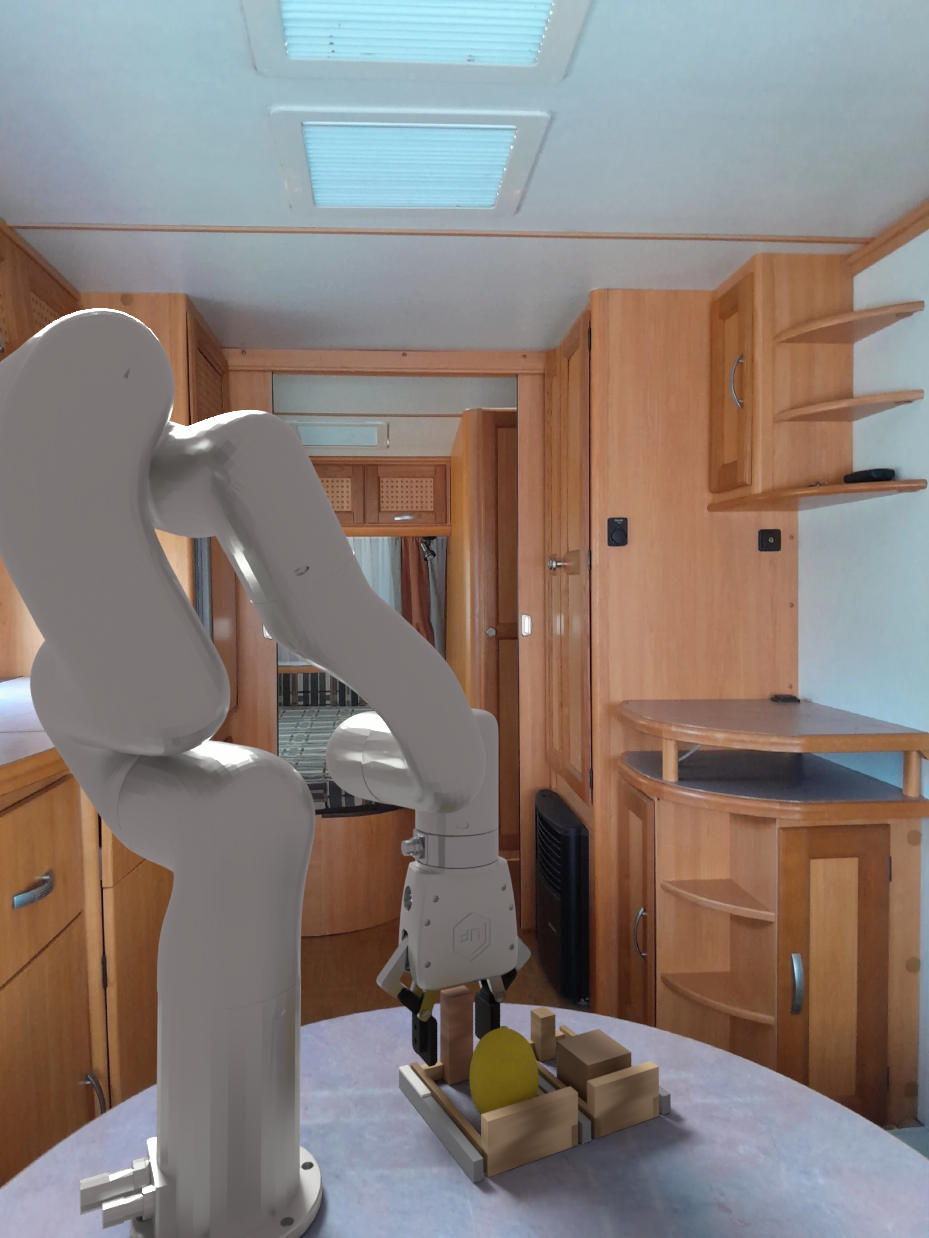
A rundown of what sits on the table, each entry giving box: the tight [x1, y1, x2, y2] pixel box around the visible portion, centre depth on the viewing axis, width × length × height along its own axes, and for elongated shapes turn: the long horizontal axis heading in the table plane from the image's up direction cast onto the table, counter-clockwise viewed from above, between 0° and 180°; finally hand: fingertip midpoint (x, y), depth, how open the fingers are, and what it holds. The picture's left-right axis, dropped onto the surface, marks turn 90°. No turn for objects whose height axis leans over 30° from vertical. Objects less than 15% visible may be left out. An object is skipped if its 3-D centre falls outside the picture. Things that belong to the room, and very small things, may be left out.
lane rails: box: [398, 1064, 592, 1184], centre depth 66 cm, size 10×14×2 cm
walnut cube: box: [556, 1028, 632, 1104], centre depth 68 cm, size 4×4×4 cm
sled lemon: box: [409, 984, 579, 1178], centre depth 66 cm, size 8×14×8 cm, turn 28°
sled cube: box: [526, 1006, 660, 1140], centre depth 70 cm, size 6×14×4 cm, turn 28°
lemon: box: [469, 1025, 538, 1115], centre depth 64 cm, size 6×6×8 cm
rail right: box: [631, 1064, 672, 1116], centre depth 71 cm, size 1×11×2 cm, turn 27°
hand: (456, 1048), depth 71 cm, fingers open, 5 cm apart
